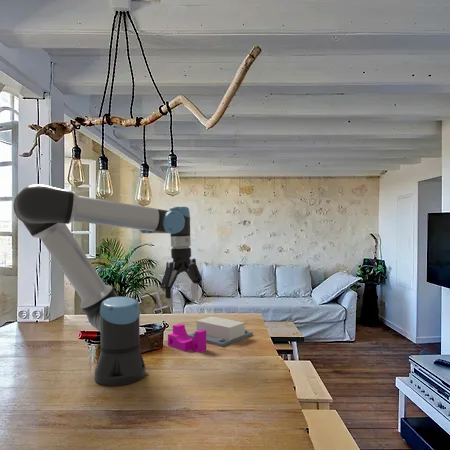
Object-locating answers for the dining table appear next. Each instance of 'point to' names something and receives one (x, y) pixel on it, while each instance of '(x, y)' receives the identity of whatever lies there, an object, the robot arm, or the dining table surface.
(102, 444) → the dining table surface
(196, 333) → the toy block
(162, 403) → the dining table surface
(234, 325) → the baseplate
